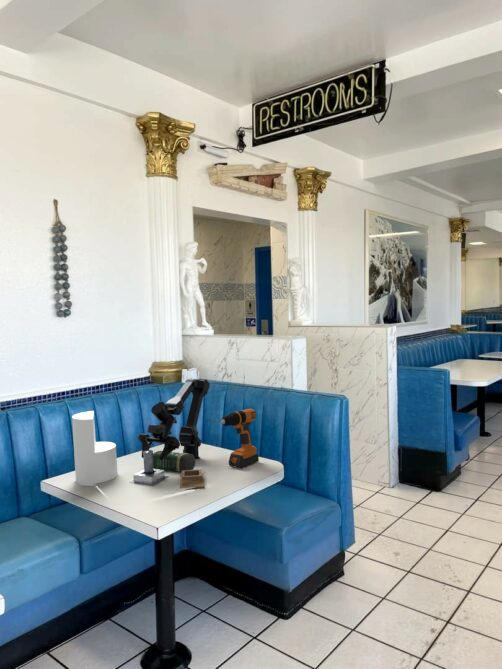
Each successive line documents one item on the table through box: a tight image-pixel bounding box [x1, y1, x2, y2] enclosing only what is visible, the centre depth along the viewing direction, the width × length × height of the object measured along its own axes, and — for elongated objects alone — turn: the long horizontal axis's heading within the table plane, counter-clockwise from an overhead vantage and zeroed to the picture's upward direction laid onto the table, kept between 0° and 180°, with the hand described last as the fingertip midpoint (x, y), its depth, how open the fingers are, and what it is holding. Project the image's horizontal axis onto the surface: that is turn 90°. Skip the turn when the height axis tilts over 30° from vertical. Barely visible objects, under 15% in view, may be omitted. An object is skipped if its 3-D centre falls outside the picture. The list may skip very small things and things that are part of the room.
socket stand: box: [128, 469, 170, 487], centre depth 216 cm, size 12×12×4 cm
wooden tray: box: [179, 468, 206, 491], centre depth 214 cm, size 16×10×4 cm, turn 7°
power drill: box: [220, 408, 260, 469], centre depth 232 cm, size 22×7×25 cm, turn 140°
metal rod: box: [142, 449, 154, 475], centre depth 216 cm, size 4×4×12 cm
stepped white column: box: [71, 410, 118, 487], centre depth 222 cm, size 17×17×28 cm
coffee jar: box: [153, 450, 196, 473], centre depth 230 cm, size 10×8×19 cm
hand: (151, 458), depth 218 cm, fingers open, 9 cm apart
